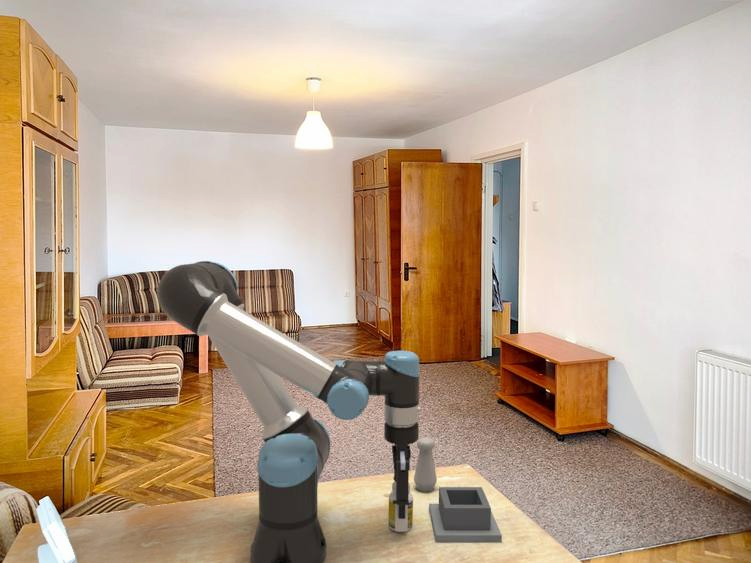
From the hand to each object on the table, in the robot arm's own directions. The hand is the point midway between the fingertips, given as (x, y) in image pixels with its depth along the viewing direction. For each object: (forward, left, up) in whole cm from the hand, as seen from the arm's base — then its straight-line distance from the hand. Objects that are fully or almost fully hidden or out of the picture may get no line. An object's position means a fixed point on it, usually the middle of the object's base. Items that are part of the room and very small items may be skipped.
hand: (400, 523), depth 126 cm
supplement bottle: (0, 0, -1) cm, 1 cm away
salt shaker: (-9, +18, -1) cm, 20 cm away
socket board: (+9, +11, -1) cm, 14 cm away
